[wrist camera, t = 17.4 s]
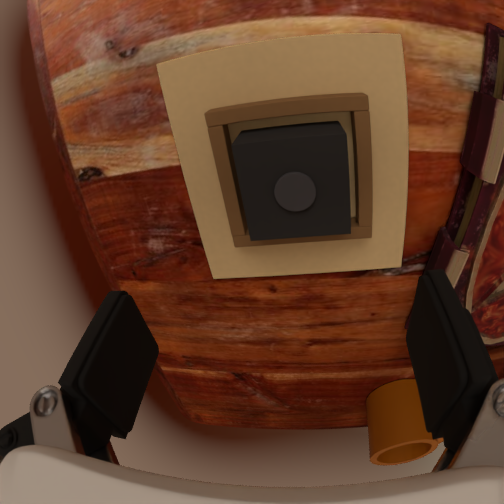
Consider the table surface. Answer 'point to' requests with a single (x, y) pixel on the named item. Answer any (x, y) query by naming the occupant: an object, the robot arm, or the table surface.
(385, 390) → the mug
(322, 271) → the base pad
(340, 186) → the black square block
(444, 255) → the book
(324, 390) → the table surface
